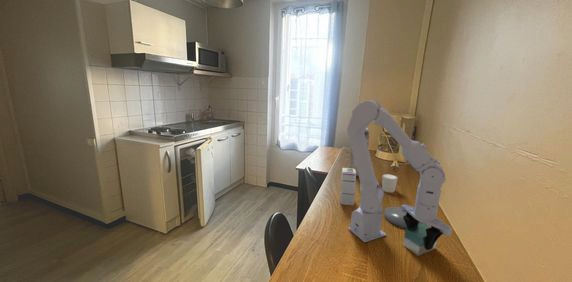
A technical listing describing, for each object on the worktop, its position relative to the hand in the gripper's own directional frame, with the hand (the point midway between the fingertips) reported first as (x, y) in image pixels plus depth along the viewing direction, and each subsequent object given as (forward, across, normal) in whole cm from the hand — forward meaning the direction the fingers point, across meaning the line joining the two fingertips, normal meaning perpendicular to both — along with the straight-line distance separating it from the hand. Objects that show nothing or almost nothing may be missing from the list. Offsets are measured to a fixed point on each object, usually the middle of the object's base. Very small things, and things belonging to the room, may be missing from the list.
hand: (419, 242), depth 70 cm
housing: (+1, 0, 0) cm, 1 cm away
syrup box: (+2, +32, +2) cm, 32 cm away
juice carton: (+2, +57, -26) cm, 63 cm away
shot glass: (+2, +34, -25) cm, 42 cm away
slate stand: (+1, +13, -9) cm, 16 cm away
